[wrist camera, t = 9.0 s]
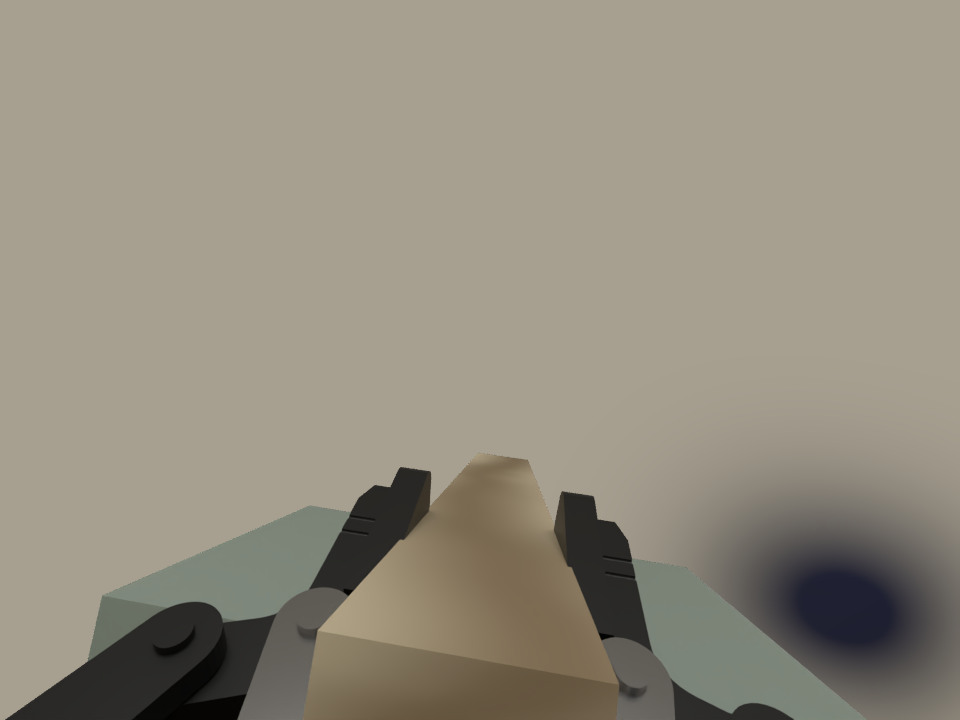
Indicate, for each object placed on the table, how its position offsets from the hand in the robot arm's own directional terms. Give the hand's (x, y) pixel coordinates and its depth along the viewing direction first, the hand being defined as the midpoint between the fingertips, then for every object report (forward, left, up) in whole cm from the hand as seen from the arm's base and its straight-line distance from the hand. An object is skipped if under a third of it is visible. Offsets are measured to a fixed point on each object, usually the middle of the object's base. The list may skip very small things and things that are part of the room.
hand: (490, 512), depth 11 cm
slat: (0, -7, -3) cm, 7 cm away
